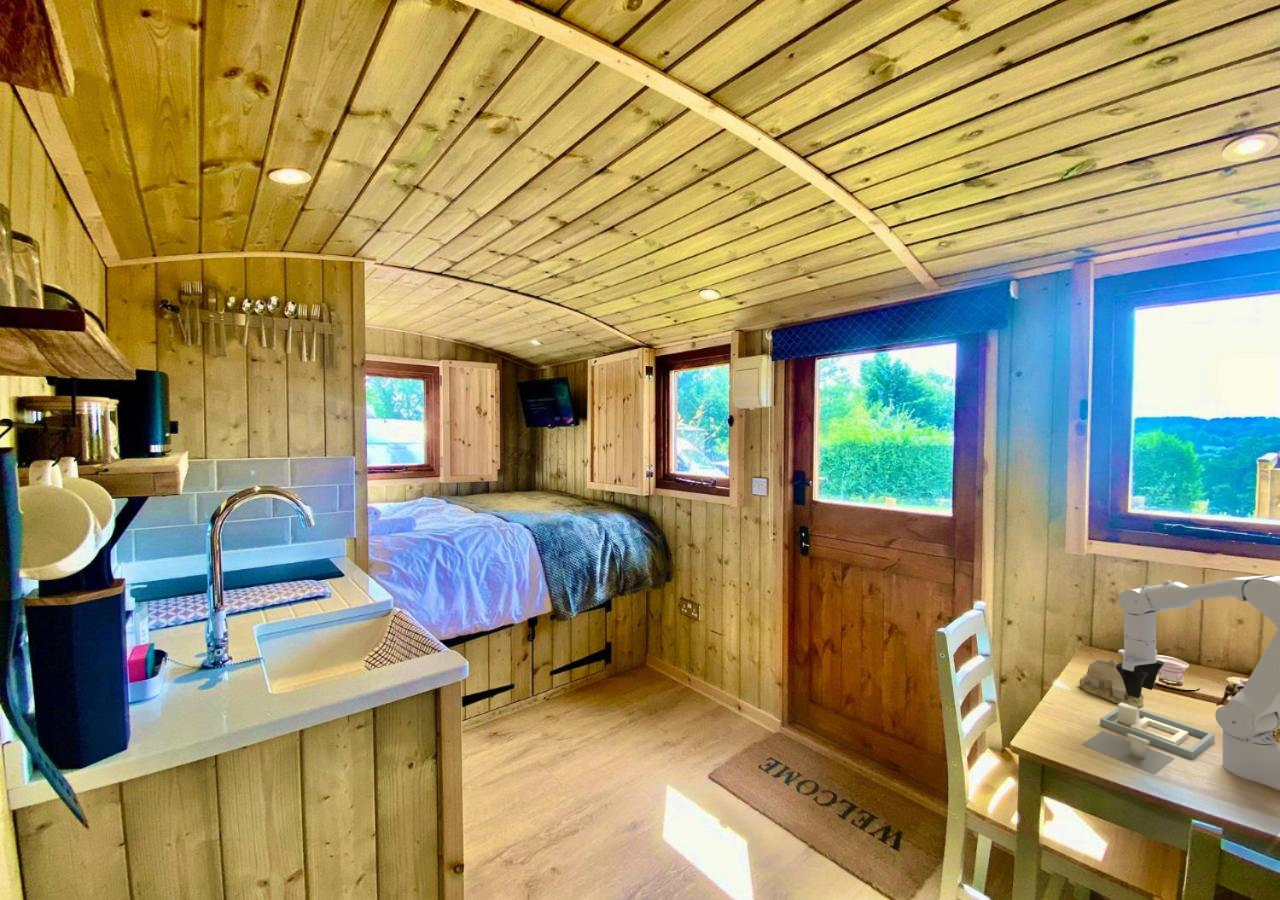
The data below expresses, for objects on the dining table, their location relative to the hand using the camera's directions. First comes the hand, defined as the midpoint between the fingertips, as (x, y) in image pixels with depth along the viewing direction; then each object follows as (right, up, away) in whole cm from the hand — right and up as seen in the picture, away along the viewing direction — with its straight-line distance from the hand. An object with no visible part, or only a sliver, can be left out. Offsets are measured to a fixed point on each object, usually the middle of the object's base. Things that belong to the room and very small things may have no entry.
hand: (1140, 692), depth 133 cm
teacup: (+31, -8, +24) cm, 40 cm away
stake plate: (-12, -10, -10) cm, 18 cm away
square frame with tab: (+1, -9, -2) cm, 9 cm away
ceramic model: (+8, -9, +18) cm, 22 cm away
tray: (+1, -9, -3) cm, 10 cm away
